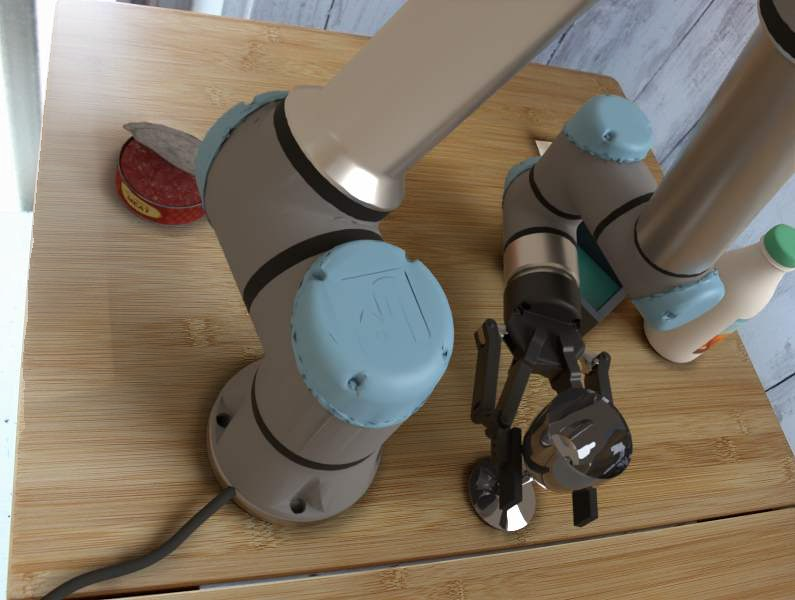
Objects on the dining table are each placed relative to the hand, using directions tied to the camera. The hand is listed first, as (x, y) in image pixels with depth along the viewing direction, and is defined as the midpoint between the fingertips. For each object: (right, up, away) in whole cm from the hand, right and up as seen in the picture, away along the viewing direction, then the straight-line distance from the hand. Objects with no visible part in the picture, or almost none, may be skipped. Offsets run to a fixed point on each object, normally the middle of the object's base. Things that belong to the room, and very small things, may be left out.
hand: (548, 513), depth 70 cm
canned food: (-36, +29, +13) cm, 48 cm away
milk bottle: (+19, +14, +29) cm, 38 cm away
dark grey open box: (+7, +20, +27) cm, 35 cm away
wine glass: (-3, 0, +9) cm, 9 cm away
